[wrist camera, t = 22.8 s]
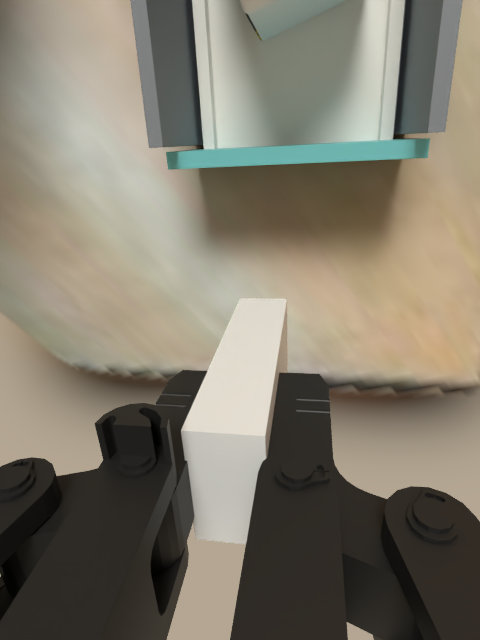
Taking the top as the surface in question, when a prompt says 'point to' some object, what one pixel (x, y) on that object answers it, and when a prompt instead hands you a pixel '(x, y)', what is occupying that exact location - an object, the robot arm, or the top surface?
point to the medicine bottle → (282, 14)
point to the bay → (182, 75)
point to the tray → (298, 88)
